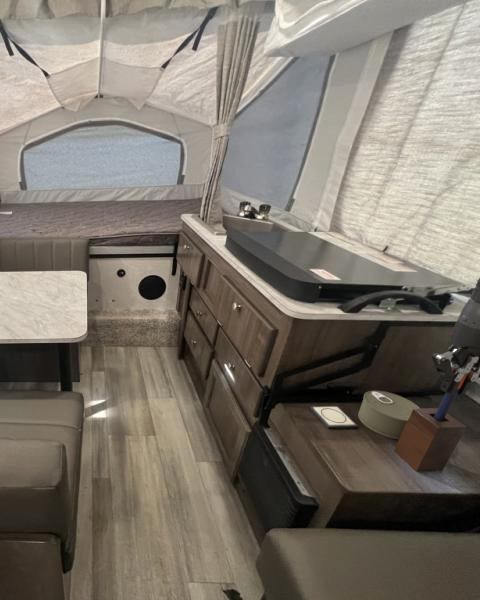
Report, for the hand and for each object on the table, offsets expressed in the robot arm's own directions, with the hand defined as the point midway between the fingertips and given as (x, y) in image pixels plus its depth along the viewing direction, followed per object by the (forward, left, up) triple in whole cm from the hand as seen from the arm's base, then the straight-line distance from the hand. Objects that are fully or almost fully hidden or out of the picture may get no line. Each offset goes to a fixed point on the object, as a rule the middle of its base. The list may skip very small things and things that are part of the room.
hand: (452, 391), depth 69 cm
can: (+3, -12, -22) cm, 25 cm away
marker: (0, 0, -10) cm, 10 cm away
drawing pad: (+15, -9, -21) cm, 28 cm away
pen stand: (0, 0, -21) cm, 21 cm away
